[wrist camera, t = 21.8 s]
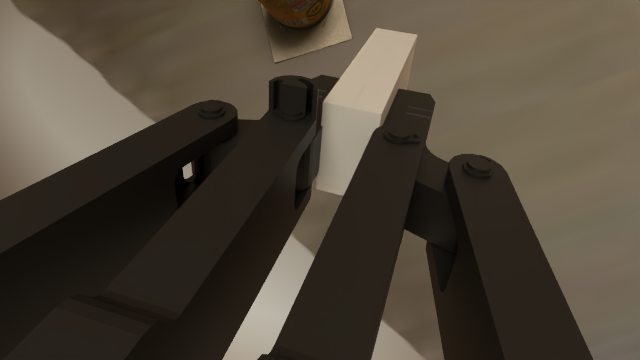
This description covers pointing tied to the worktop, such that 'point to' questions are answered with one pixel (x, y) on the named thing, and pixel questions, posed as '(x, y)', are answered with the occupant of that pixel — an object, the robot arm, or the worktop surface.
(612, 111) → the worktop surface
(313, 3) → the condiment
